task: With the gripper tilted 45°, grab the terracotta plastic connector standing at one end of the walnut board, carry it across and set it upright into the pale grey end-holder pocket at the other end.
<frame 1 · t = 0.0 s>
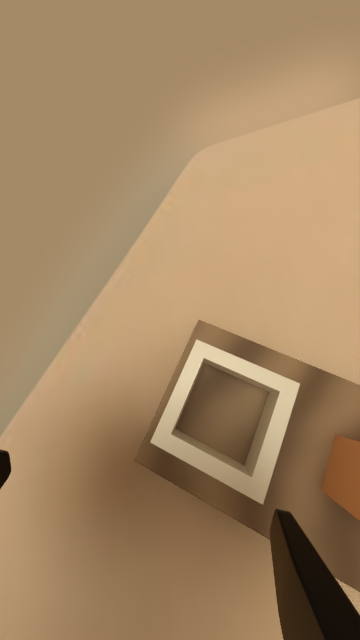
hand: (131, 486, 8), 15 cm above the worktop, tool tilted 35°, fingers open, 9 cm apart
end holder: (222, 410, 21), resting on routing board
connector: (357, 475, 18), point 1 cm above the worktop, touching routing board
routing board: (281, 438, 21), on the worktop
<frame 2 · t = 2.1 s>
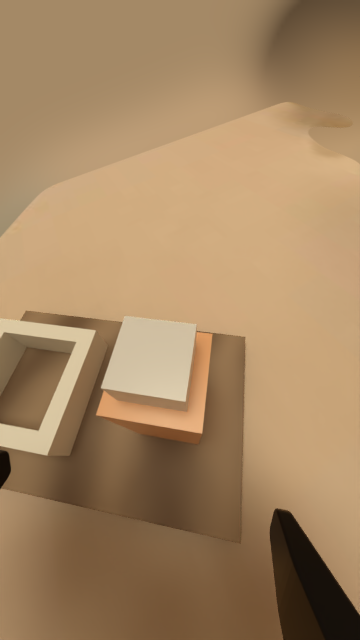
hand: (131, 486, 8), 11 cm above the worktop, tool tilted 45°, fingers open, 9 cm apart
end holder: (42, 386, 19), resting on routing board
connector: (173, 408, 18), point 1 cm above the worktop, touching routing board
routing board: (110, 399, 20), on the worktop
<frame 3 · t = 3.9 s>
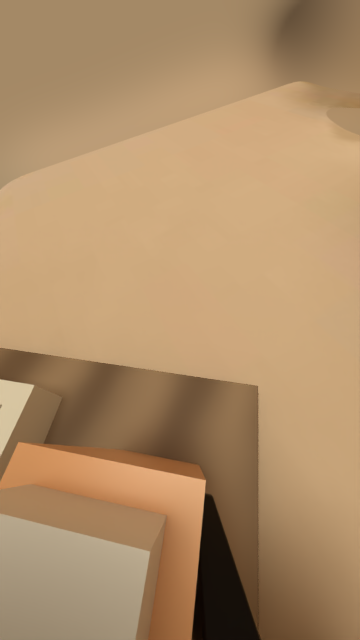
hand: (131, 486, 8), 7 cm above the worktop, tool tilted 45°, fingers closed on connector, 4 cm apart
connector: (150, 506, 12), point 1 cm above the worktop, touching gripper, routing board
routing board: (61, 481, 14), on the worktop
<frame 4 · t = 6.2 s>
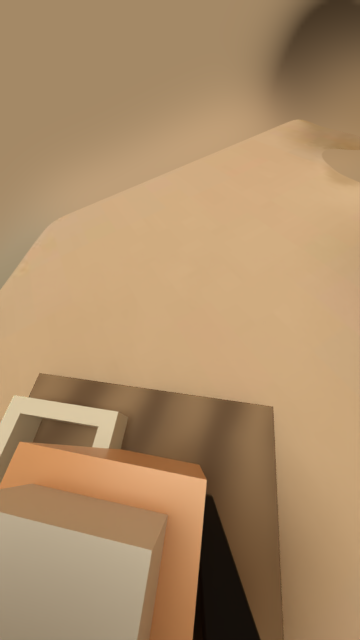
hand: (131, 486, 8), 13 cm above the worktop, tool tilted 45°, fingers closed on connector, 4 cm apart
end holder: (61, 467, 18), resting on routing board
connector: (151, 506, 12), point 8 cm above the worktop, touching gripper
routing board: (132, 478, 19), on the worktop
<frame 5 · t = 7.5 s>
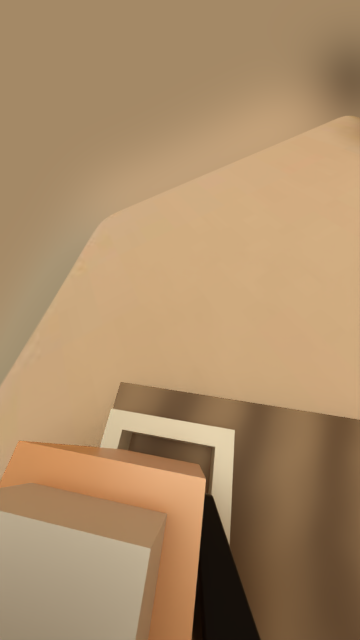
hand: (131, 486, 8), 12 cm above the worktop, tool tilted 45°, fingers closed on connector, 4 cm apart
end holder: (163, 489, 17), resting on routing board
connector: (150, 505, 12), point 7 cm above the worktop, touching gripper
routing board: (240, 503, 17), on the worktop
when the fingers open (8 cm above the worktop, at t = 8.7 s): connector drops 1 cm, resting on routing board.
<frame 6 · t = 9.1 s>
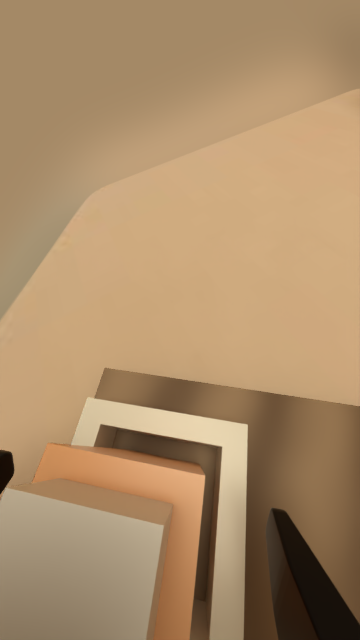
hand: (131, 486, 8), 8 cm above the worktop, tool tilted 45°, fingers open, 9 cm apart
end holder: (154, 502, 13), resting on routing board
connector: (154, 501, 13), point 1 cm above the worktop, touching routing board
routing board: (254, 520, 13), on the worktop
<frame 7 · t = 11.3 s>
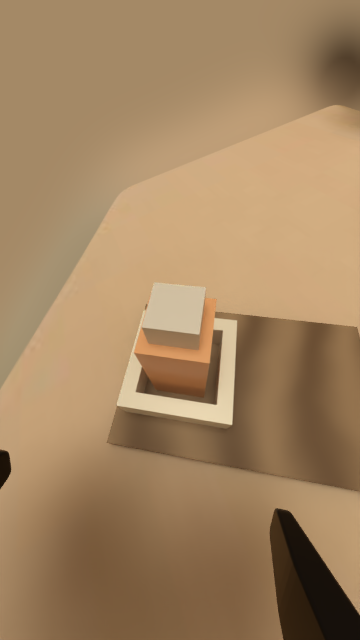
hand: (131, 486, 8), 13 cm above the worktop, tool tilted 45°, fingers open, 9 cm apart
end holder: (183, 370, 22), resting on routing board
connector: (183, 370, 22), point 1 cm above the worktop, touching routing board
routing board: (241, 382, 22), on the worktop
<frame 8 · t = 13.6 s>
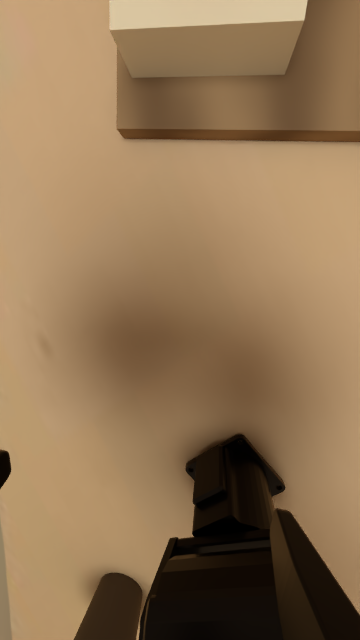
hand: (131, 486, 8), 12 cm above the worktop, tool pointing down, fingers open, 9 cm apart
coffee cup: (121, 586, 28), on the worktop
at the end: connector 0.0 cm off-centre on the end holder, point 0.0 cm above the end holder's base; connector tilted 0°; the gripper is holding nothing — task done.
